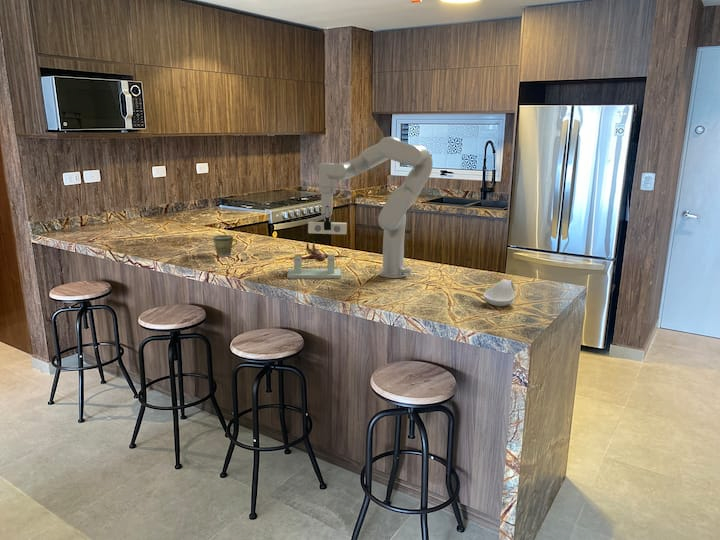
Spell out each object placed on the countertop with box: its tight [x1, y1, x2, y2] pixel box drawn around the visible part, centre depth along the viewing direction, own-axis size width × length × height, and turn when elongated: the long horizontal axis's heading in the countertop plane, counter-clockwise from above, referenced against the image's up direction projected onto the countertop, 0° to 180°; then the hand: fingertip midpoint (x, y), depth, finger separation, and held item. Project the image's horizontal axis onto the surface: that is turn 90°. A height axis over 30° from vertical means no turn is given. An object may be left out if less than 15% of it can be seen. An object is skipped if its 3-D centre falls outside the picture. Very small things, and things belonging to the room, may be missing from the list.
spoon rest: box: [483, 278, 516, 307], centre depth 216 cm, size 24×12×7 cm, turn 153°
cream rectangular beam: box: [307, 221, 348, 235], centre depth 257 cm, size 18×4×5 cm, turn 92°
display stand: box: [286, 253, 342, 279], centre depth 248 cm, size 24×12×9 cm, turn 93°
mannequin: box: [290, 242, 349, 261], centre depth 288 cm, size 26×29×4 cm
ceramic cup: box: [213, 234, 238, 258], centre depth 283 cm, size 13×10×10 cm
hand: (327, 228), depth 257 cm, fingers closed on cream rectangular beam, 3 cm apart
